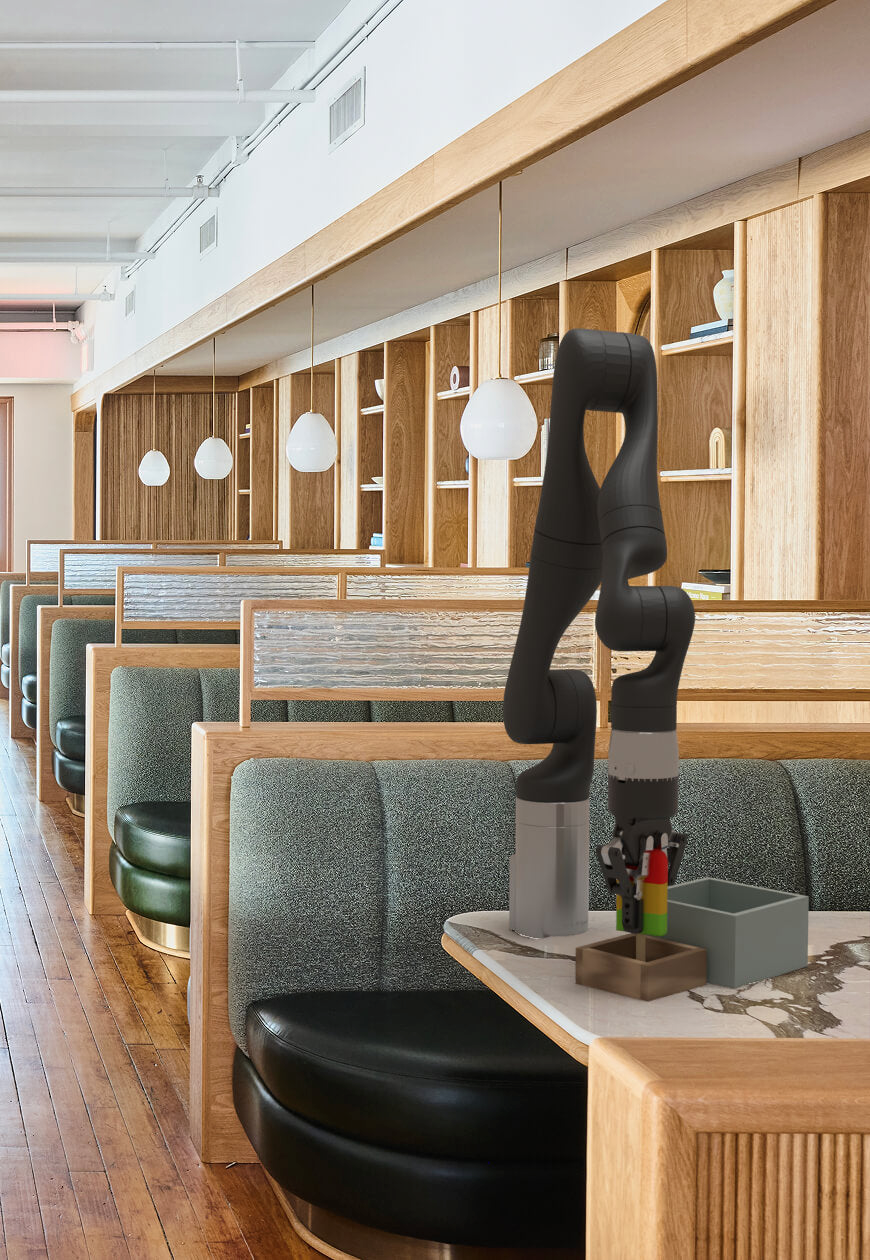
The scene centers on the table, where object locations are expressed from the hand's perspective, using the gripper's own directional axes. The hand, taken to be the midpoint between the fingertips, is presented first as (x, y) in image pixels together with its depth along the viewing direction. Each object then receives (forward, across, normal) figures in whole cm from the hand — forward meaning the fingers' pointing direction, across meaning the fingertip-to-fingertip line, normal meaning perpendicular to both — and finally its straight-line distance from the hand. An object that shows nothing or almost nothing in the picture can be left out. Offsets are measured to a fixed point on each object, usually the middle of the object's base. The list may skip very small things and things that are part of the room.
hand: (641, 929), depth 160 cm
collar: (+6, 0, 0) cm, 6 cm away
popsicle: (+6, 0, 0) cm, 6 cm away
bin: (+6, -13, +1) cm, 14 cm away
